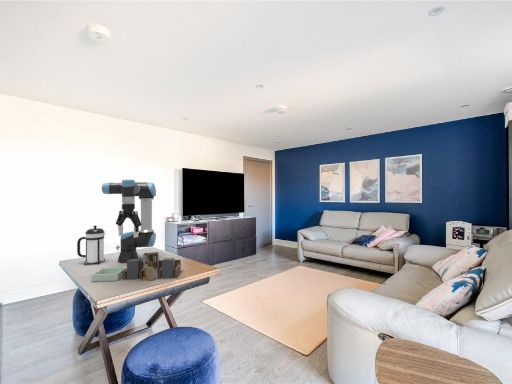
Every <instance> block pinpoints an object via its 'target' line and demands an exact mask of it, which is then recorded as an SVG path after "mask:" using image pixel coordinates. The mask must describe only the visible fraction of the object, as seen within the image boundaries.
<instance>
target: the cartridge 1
mask: <svg viewBox="0 0 512 384" xmlns="http://www.w3.org/2000/svg"><path fill="white" fill-rule="evenodd" d="M141 261H142V259H141V258H139V259H129V260H128V261H127V263H126V269H127V279H126V280H127V281H129V280H130V281H131V280H140V279H139V271H140V270H141Z"/></svg>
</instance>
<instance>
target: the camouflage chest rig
mask: <svg viewBox="0 0 512 384" xmlns="http://www.w3.org/2000/svg"><path fill="white" fill-rule="evenodd" d="M162 260H163V259H159V271H158V278H157V279H162ZM181 260H182V259H174V277H173V279H177V278H178V276H179V274H180V273H181V270H182V267H181V266H182V265H181V263H182V261H181ZM179 272H180V273H179ZM142 279H143V260H141V270H140V271H139V279H138V280H142ZM123 280H127V268H126V270H125V271H124V272H123V277H122V281H123ZM154 280H155V279H143V282H146V281H147V282H149V281H150V282H151V281H154Z"/></svg>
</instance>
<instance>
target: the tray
mask: <svg viewBox="0 0 512 384" xmlns="http://www.w3.org/2000/svg"><path fill="white" fill-rule="evenodd" d="M126 269H127V267H107V268H106V267H105V268H104V267H103V268H100V269H99V270H97V271H95V272H94V273H92V274H91V275H90V277H91V283H102V282H103V283H104V282H108V283H109V282H119V281H120V280H121V279H123V272H124V271H125V270H126Z"/></svg>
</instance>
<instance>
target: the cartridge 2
mask: <svg viewBox="0 0 512 384" xmlns="http://www.w3.org/2000/svg"><path fill="white" fill-rule="evenodd" d="M161 260H162V277H161V279H174V260H175V258H174V257H165V258H163V259H161Z"/></svg>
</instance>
